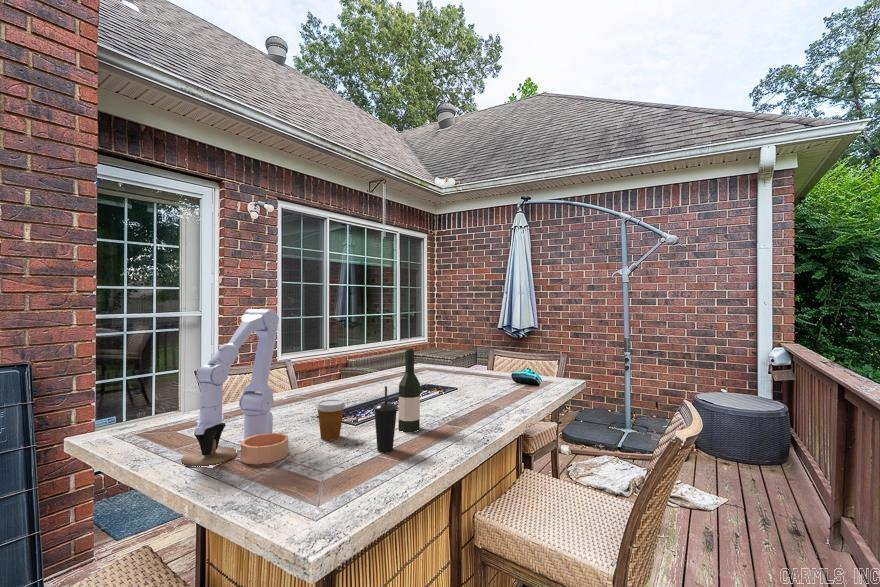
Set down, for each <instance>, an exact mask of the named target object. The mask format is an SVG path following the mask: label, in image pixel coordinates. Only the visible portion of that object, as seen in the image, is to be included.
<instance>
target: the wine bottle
mask: <svg viewBox="0 0 880 587" xmlns="http://www.w3.org/2000/svg"><path fill="white" fill-rule="evenodd" d="M404 367H405V372H404V374H403V376H402V378H401V380H400V381H399V384H398V427H397V430H399V431H398V432H400V431H403V432H414V431H417V430H419V429H421V428H420V427H421V426H420V417H421V415H420V414H421V408H420V407H421V402H420V401H421V383H420V380H419V379H418V377H417V376H416V373H415V350H414V348H413V347H407V348H406V350H405V366H404ZM419 431H420V430H419ZM403 432H402V433H403ZM417 432H418V431H417ZM414 433H415V432H414Z"/></svg>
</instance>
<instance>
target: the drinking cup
mask: <svg viewBox="0 0 880 587" xmlns="http://www.w3.org/2000/svg"><path fill="white" fill-rule="evenodd" d="M398 409H399V405H397V404H395V403H392V402H389V401H388V386H387V385H385V386H384V402H380V403H377V404H375V405H374V406H373V410H374V423H375V435H376V436H375V437H376V450H377V452H378V451H379V452H378V453H381V452H384V453H383V454H386V452H388V453H390V452H391V453H392V451H393V450H394V442H395V433H396V432H395V431H396V430H395V429H396V421H397V414H398V413H397V410H398Z"/></svg>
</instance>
